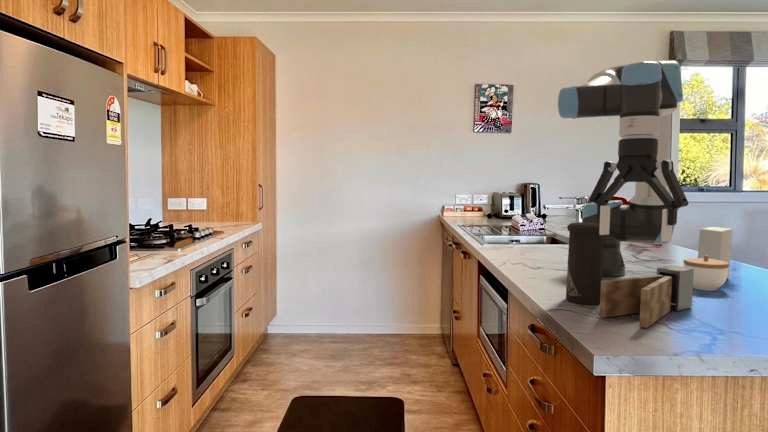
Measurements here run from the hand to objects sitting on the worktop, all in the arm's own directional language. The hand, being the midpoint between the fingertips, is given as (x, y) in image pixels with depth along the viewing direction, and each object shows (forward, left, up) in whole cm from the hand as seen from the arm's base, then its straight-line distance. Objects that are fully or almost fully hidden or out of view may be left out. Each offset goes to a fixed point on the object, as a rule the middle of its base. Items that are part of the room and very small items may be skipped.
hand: (633, 237), depth 108 cm
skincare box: (-41, +51, -19) cm, 68 cm away
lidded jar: (-29, +39, -19) cm, 52 cm away
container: (-18, -2, -19) cm, 26 cm away
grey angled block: (-10, +17, -18) cm, 27 cm away
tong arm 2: (-1, +6, -18) cm, 19 cm away
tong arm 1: (-5, +4, -18) cm, 19 cm away
